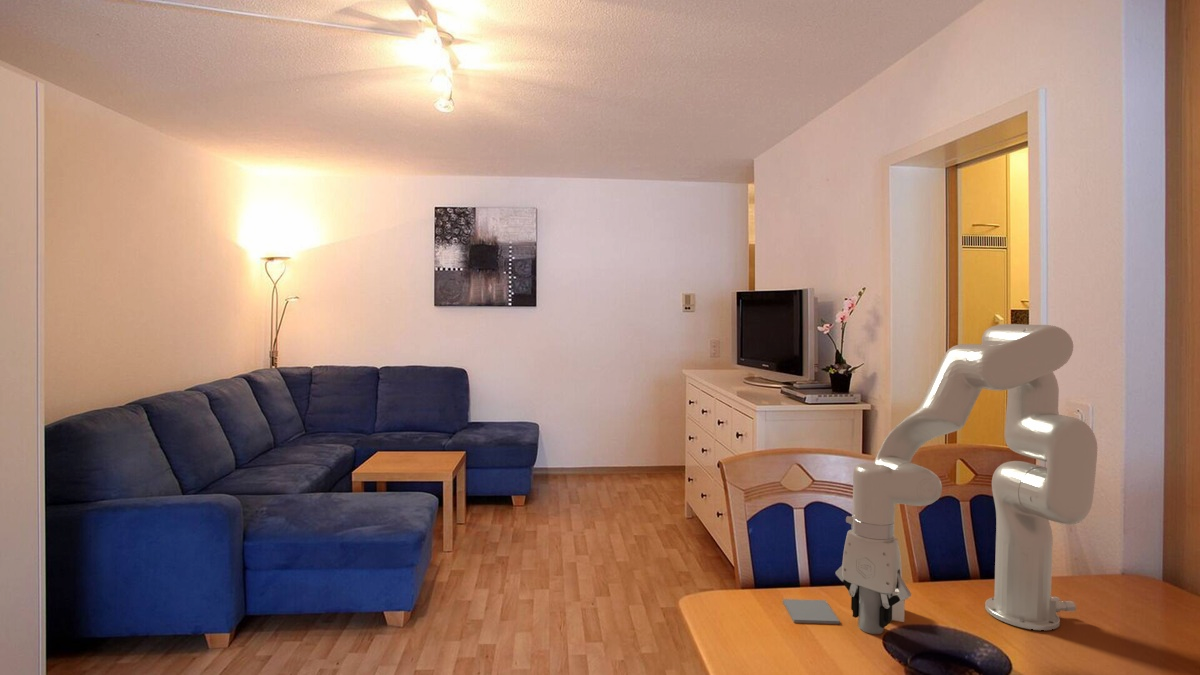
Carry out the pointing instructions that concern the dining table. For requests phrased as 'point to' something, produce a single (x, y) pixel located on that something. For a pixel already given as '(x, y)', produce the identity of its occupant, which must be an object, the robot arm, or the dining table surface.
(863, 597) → the grey hollow tube
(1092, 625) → the dining table surface
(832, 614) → the grey mat
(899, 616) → the letter cube
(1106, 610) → the dining table surface
